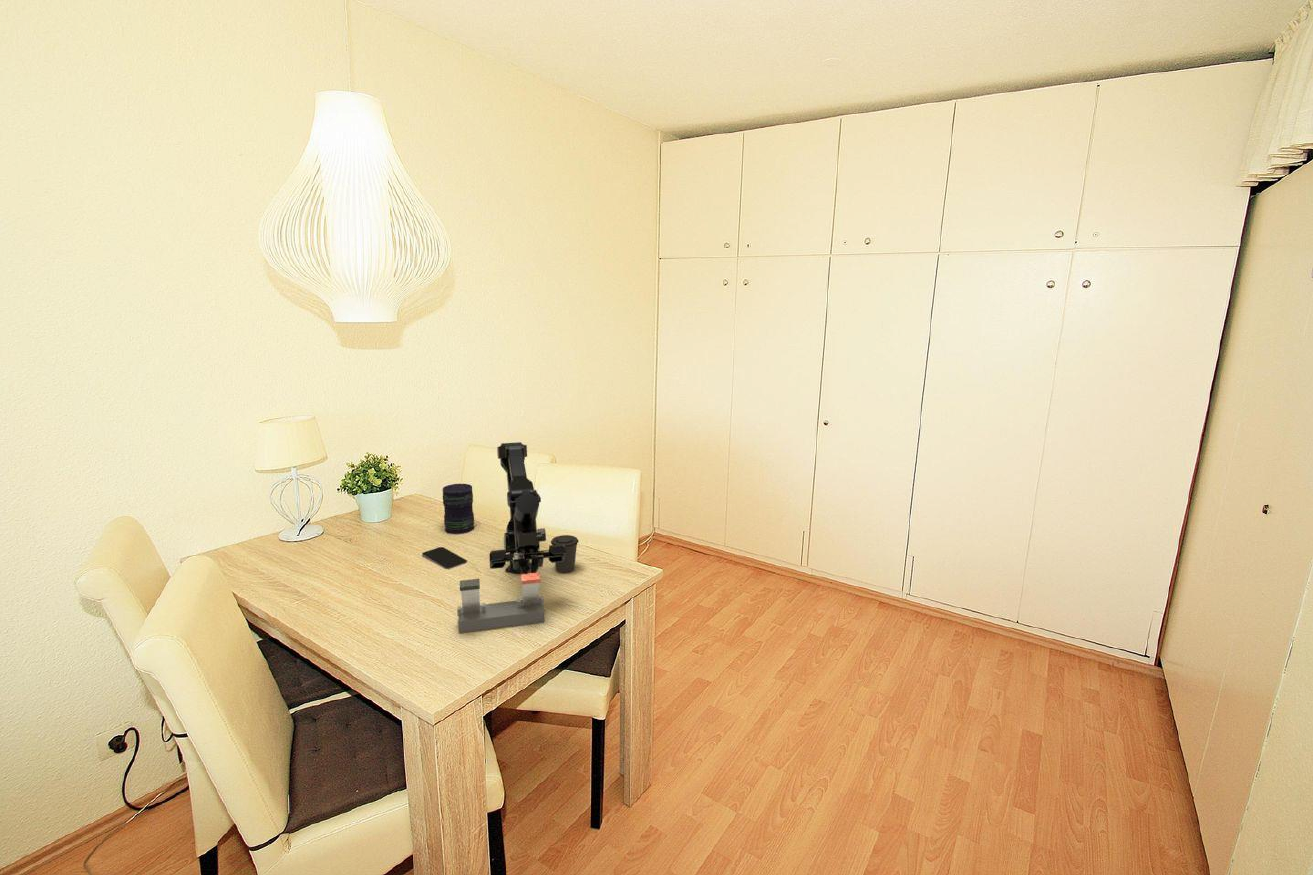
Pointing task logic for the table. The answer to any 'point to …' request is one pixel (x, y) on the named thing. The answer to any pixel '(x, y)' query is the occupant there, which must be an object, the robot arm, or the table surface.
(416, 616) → the table surface
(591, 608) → the table surface
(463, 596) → the cream dark-capped block
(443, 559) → the smartphone
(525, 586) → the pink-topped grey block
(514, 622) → the switch box
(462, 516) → the storage jar
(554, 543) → the coffee cup
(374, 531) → the table surface
